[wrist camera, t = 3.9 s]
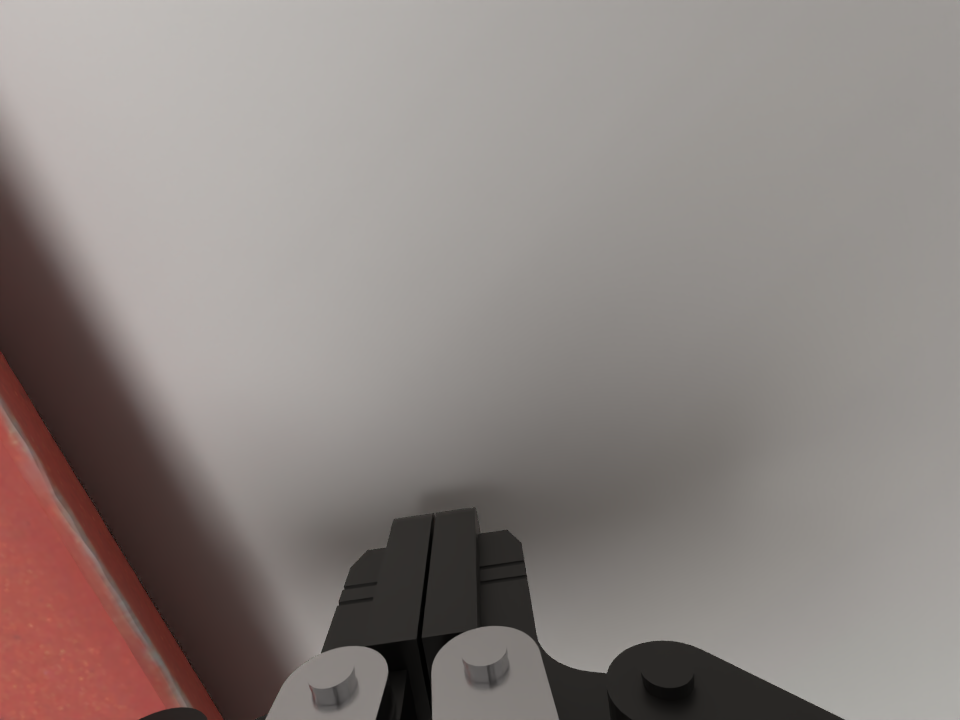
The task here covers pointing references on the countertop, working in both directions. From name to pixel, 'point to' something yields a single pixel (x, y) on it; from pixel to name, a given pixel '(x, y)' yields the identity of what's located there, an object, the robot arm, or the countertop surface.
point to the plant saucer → (72, 595)
